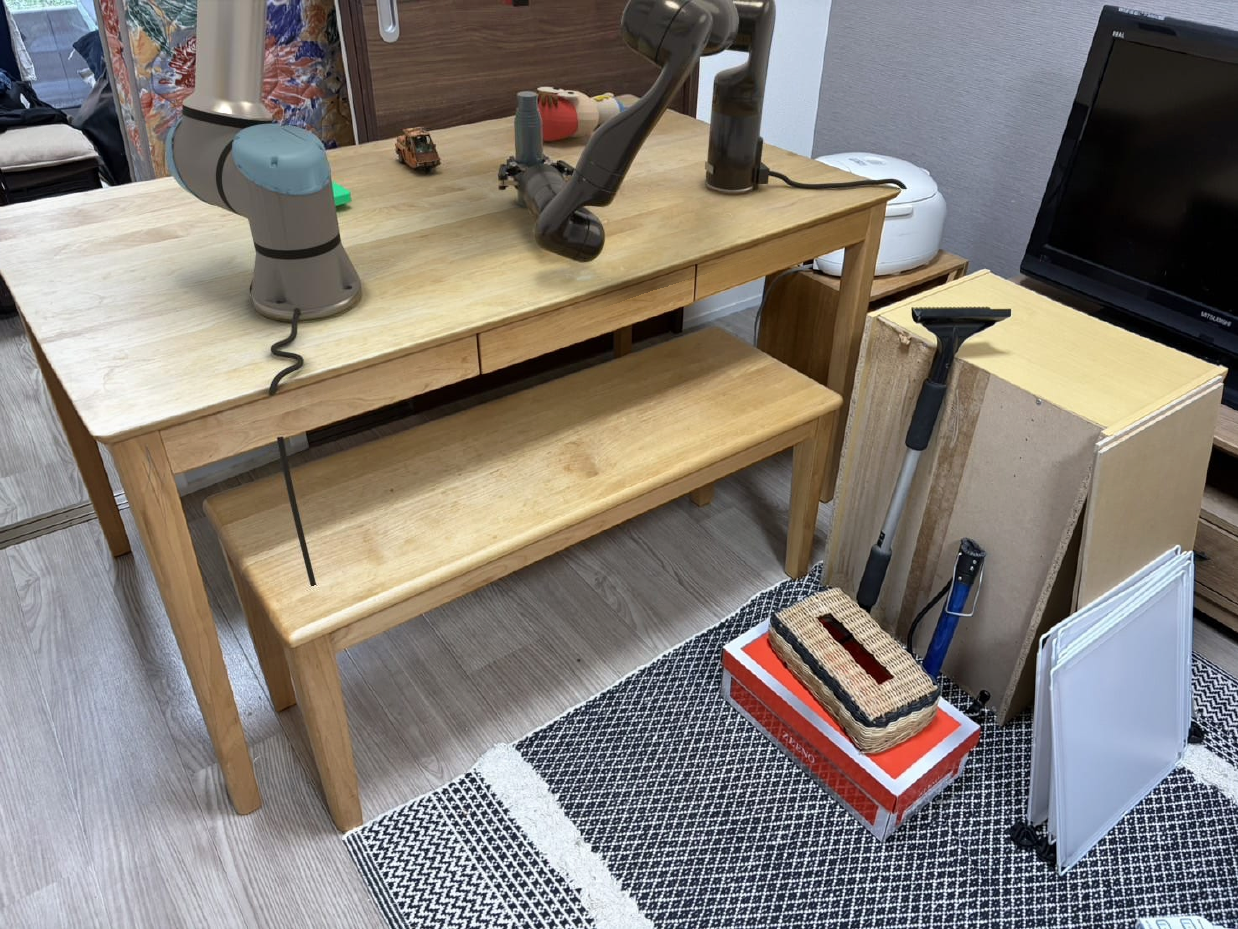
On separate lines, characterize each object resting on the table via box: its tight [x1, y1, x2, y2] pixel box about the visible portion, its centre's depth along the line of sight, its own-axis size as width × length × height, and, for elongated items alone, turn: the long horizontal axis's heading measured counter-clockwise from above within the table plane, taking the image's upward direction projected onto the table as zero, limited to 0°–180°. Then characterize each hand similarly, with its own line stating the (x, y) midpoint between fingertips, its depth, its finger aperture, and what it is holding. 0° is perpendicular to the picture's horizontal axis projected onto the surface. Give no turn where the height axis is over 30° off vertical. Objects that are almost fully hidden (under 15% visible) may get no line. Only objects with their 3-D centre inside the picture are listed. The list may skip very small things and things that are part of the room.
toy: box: [537, 86, 629, 142], centre depth 199 cm, size 18×10×30 cm
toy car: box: [394, 126, 442, 174], centre depth 178 cm, size 6×12×7 cm, turn 39°
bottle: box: [513, 90, 544, 208], centre depth 161 cm, size 5×5×19 cm
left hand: (515, 2), depth 163 cm, fingers closed on cap, 5 cm apart
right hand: (526, 160), depth 165 cm, fingers closed on bottle, 5 cm apart
